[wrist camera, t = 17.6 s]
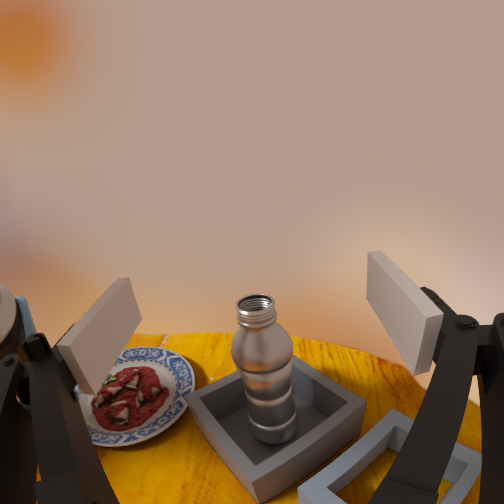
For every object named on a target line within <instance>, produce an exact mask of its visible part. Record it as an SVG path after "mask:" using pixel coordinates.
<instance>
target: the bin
mask: <svg viewBox="0 0 504 504" xmlns="http://www.w3.org/2000/svg"><path fill="white" fill-rule="evenodd" d="M291 385H292V394H293V398H294V403H295V405H296V408H297V410H298V414H299V425H298V430H297V432H296V434H295V435H294V436H293V437H292V438H291V439H289V440H288V441H286V442H283V443H280V444H267V443H264V442H261V441H259V440H258V439H257V438H256V437H255V436H254V435H253V433H252V432H251V430H250V428H249V426H248V404H247V396H246V393H245V389H244V386H243V383H242V380H241V377H240V375H239V373H238V371H236V372H234V373H232V374H230V375H228V376H226V377H224V378H222V379H220V380H217V381H215V382H213V383H211V384H209V385H207V386H205V387H202V388H200V389H198V390H196V391H194V392H191V393H189V394H187V395H185V399H186V401H187V404H188V406H189V408H190V411H191V413H192V415H193V418H194V420H195V422H196V424H197V427H198V428H199V430H200V431H201V432H202V434H203V435H204V437H205V438H206V439H207V441H208V442H209V444H210V445H211V446H212V448H213V449H214V450H215V452H216V453H217V454H218V456H219V457H220V458H221V459H222V461H223V462H224V463H225V465H226V466H227V467H228V468H229V470H230V471H231V472H232V473H233V475H234V476H235V477H236V478H237V479H238V481H239V482H240V483H241V484H242V485H243V487H244V488H245V489H246V490H247V491H248V492H249V493H250V495H251V496H252V497H253V498H254V499H255V500H256V501H257V502H258V504H263V503H265V502H267V501H268V500H270V499H272V498H273V497H275V496H277V495H278V494H280V493H281V492H283V491H285V490H286V489H288V488H289V487H291V486H292V485H294V484H295V483H297V482H298V481H300V480H301V479H303V478H304V477H306V476H307V475H308V474H310V473H311V472H313V471H314V470H315V469H317V468H318V467H319V466H321V465H322V464H323V463H325V462H326V461H327V460H329V459H330V458H331V457H332V456H334V455H335V454H336V453H338V452H339V451H340V450H341V449H342V448H344V447H345V446H346V445H347V444H348V443H350V442H351V441H352V440H353V439H354V438H355V437H357V436H358V435H359V434H360V432H361V427H362V422H363V417H364V411H365V405H366V400H364V399H363V398H361V397H359V396H358V395H356V394H355V393H353V392H351V391H350V390H348V389H346V388H345V387H343V386H341V385H340V384H338V383H337V382H335V381H333V380H332V379H330V378H329V377H327V376H325V375H324V374H322V373H321V372H319V371H318V370H316V369H315V368H313V367H311V366H310V365H308V364H307V363H305V362H304V361H302V360H301V359H299V358H298V357H296V356H295V355H293V359H292V370H291Z"/></svg>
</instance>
